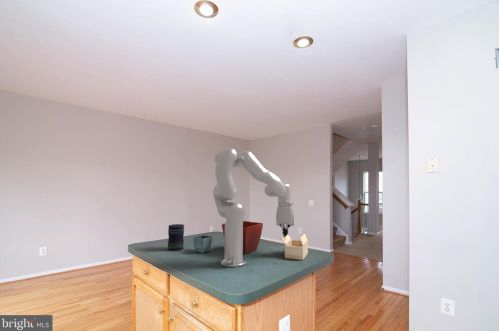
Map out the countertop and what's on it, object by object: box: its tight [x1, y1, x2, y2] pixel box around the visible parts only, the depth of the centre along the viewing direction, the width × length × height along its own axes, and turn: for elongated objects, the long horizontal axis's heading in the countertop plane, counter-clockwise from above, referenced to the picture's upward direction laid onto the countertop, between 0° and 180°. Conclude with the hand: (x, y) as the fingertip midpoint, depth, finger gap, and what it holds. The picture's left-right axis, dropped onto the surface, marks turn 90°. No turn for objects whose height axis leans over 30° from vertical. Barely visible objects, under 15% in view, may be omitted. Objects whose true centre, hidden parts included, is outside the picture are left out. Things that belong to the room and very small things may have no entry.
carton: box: [284, 239, 309, 261], centre depth 142 cm, size 17×10×7 cm, turn 157°
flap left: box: [280, 233, 292, 245], centre depth 145 cm, size 14×4×1 cm
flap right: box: [299, 233, 308, 246], centre depth 141 cm, size 14×4×1 cm
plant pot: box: [221, 220, 264, 255], centre depth 152 cm, size 19×19×17 cm
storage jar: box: [167, 223, 185, 252], centre depth 156 cm, size 10×10×15 cm
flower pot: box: [192, 234, 213, 254], centre depth 150 cm, size 9×9×9 cm
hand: (285, 235), depth 145 cm, fingers closed
